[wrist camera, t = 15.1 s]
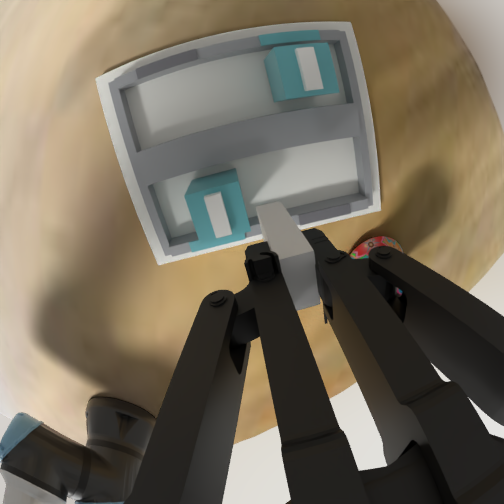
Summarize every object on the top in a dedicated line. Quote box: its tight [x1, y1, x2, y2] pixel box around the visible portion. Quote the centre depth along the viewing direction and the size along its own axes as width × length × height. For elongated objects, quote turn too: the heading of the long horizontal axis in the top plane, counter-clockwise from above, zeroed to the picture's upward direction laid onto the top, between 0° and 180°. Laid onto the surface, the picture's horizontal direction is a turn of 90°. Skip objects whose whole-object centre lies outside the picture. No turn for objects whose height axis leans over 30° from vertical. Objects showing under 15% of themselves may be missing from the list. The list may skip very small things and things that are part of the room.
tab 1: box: [184, 168, 251, 244], centre depth 22 cm, size 4×4×6 cm
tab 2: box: [264, 43, 340, 102], centre depth 18 cm, size 4×4×6 cm
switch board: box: [95, 22, 381, 265], centre depth 22 cm, size 24×20×3 cm
